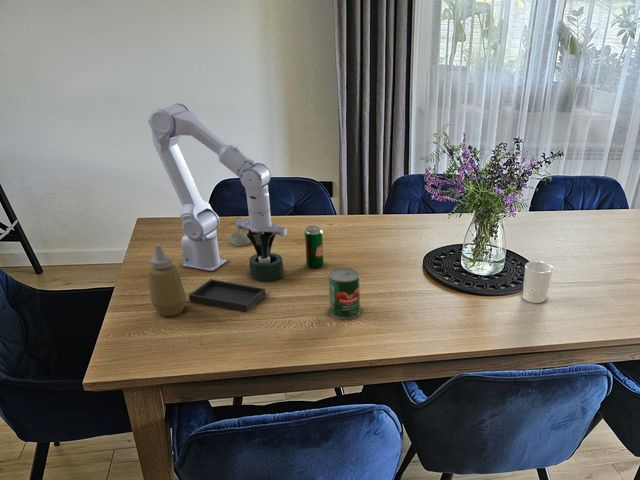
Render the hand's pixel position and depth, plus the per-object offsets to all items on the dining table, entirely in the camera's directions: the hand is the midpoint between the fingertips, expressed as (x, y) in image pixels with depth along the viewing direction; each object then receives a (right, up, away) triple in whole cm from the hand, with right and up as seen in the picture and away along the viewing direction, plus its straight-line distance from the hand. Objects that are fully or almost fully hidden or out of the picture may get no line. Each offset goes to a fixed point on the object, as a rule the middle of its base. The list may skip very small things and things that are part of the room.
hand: (263, 255), depth 174 cm
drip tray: (-6, -13, -11) cm, 18 cm away
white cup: (+78, -12, +4) cm, 79 cm away
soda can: (+12, -2, +11) cm, 16 cm away
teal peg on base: (0, -3, +2) cm, 3 cm away
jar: (0, -5, +3) cm, 6 cm away
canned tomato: (+26, -17, -12) cm, 33 cm away
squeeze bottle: (-17, -17, -19) cm, 31 cm away
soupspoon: (-17, +11, +27) cm, 33 cm away
